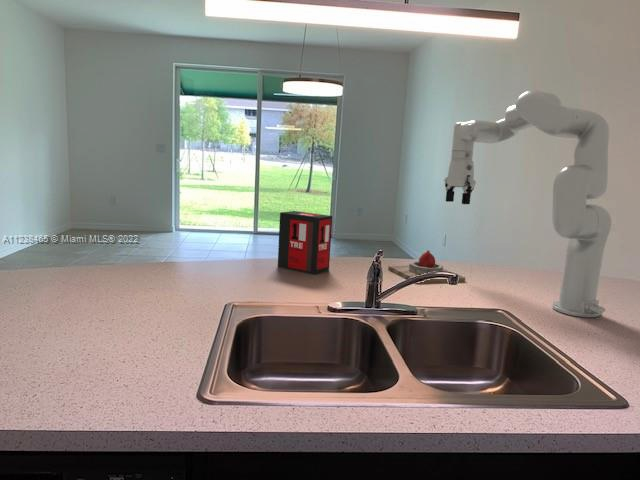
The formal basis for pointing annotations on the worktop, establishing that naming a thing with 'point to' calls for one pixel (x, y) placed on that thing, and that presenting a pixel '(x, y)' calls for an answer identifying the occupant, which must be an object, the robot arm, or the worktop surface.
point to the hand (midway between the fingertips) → (457, 202)
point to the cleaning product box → (304, 242)
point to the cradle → (419, 271)
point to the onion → (427, 260)
